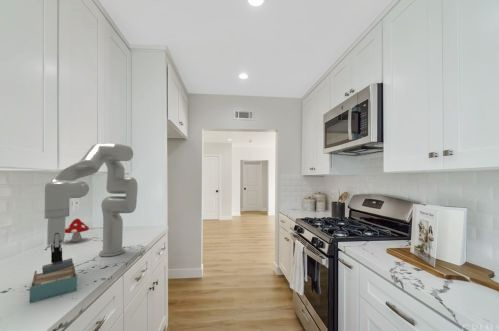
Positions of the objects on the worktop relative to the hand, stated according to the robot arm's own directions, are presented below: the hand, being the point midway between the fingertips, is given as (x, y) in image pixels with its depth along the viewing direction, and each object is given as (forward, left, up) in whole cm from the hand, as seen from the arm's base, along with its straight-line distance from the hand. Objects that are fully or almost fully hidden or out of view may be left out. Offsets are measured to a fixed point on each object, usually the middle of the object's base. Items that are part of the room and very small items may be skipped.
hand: (56, 259), depth 90 cm
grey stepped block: (0, +1, -4) cm, 4 cm away
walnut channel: (-7, 0, -10) cm, 13 cm away
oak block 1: (+2, -2, -8) cm, 9 cm away
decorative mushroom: (-73, +10, -11) cm, 74 cm away
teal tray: (+4, 0, -10) cm, 11 cm away
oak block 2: (+2, +2, -8) cm, 9 cm away
